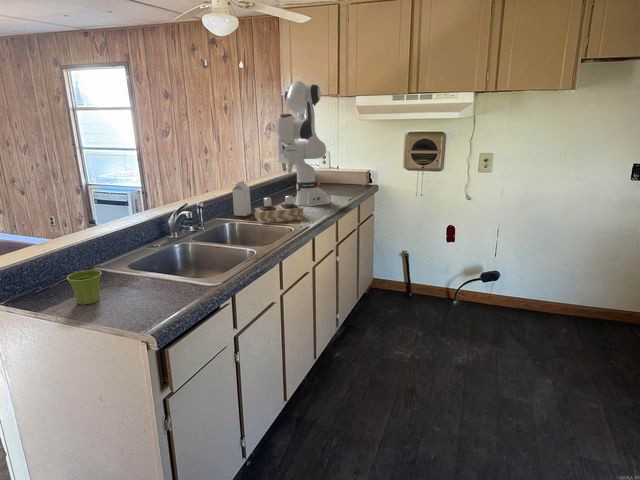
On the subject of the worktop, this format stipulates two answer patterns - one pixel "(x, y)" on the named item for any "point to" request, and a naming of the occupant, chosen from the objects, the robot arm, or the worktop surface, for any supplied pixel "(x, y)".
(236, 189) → the milk carton
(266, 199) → the peg
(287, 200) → the peg
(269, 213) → the block
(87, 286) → the plant pot
